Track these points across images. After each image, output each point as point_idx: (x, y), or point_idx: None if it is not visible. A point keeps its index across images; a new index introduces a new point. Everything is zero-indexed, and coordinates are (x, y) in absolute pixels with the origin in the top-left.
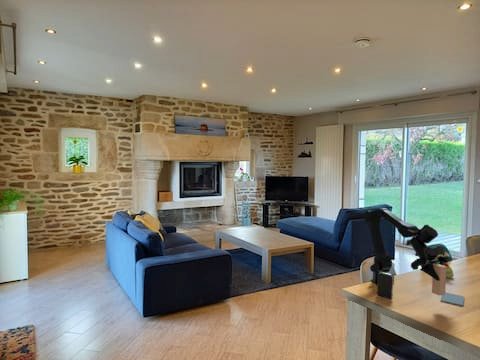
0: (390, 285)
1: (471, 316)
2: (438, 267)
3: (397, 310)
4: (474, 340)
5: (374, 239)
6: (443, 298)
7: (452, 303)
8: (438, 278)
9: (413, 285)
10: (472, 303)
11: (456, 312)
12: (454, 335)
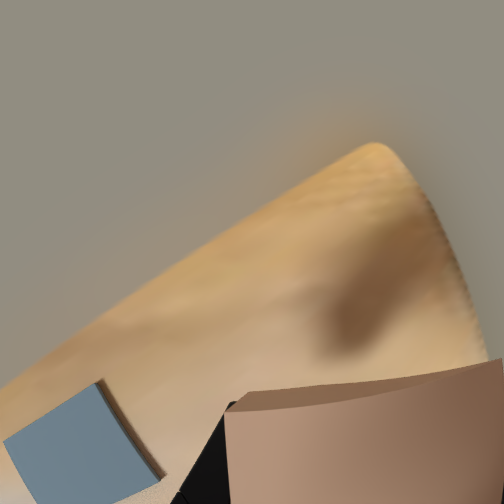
0: None
1: (176, 283)
2: (491, 425)
3: None
4: (369, 144)
5: None
6: (119, 487)
7: (122, 429)
8: None
9: None
10: (27, 384)
11: (208, 344)
12: (413, 183)
